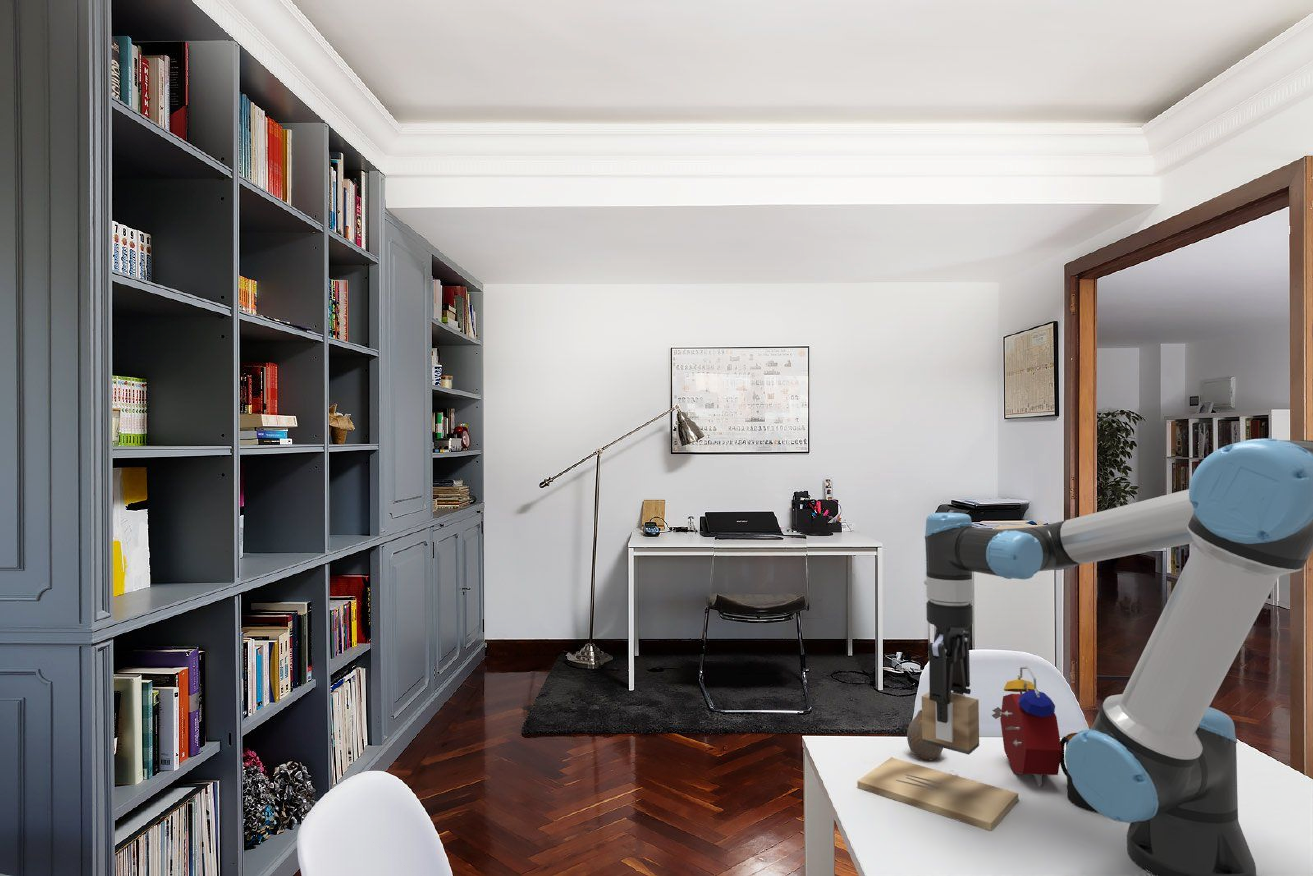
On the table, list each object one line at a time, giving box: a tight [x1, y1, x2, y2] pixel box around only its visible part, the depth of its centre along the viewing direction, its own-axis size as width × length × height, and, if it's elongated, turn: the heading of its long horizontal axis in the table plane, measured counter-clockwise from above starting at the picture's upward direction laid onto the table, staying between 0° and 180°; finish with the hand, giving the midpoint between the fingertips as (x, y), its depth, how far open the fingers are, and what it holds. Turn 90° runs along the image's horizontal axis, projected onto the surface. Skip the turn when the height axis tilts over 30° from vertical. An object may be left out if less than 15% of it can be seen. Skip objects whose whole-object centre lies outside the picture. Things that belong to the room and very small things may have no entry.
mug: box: [1059, 732, 1100, 814], centre depth 126 cm, size 8×12×10 cm
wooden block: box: [921, 691, 980, 755], centre depth 127 cm, size 8×5×8 cm, turn 47°
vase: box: [906, 709, 944, 761], centre depth 144 cm, size 7×7×9 cm
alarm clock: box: [991, 666, 1062, 787], centre depth 136 cm, size 15×9×20 cm, turn 171°
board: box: [856, 757, 1019, 832], centre depth 128 cm, size 23×14×1 cm, turn 47°
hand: (950, 734), depth 126 cm, fingers closed on wooden block, 5 cm apart
